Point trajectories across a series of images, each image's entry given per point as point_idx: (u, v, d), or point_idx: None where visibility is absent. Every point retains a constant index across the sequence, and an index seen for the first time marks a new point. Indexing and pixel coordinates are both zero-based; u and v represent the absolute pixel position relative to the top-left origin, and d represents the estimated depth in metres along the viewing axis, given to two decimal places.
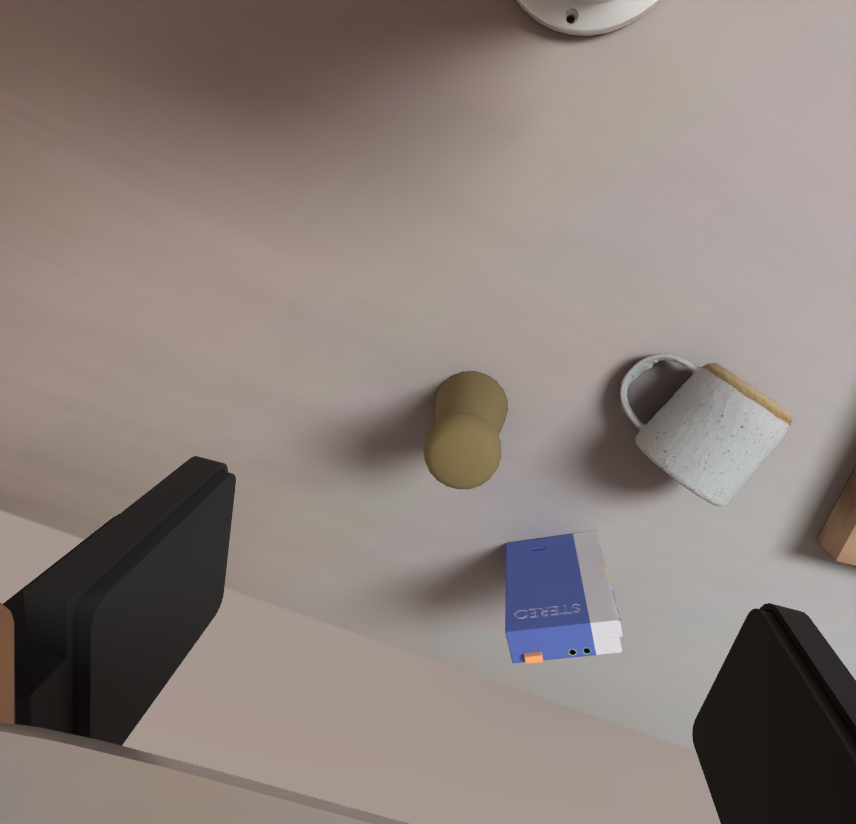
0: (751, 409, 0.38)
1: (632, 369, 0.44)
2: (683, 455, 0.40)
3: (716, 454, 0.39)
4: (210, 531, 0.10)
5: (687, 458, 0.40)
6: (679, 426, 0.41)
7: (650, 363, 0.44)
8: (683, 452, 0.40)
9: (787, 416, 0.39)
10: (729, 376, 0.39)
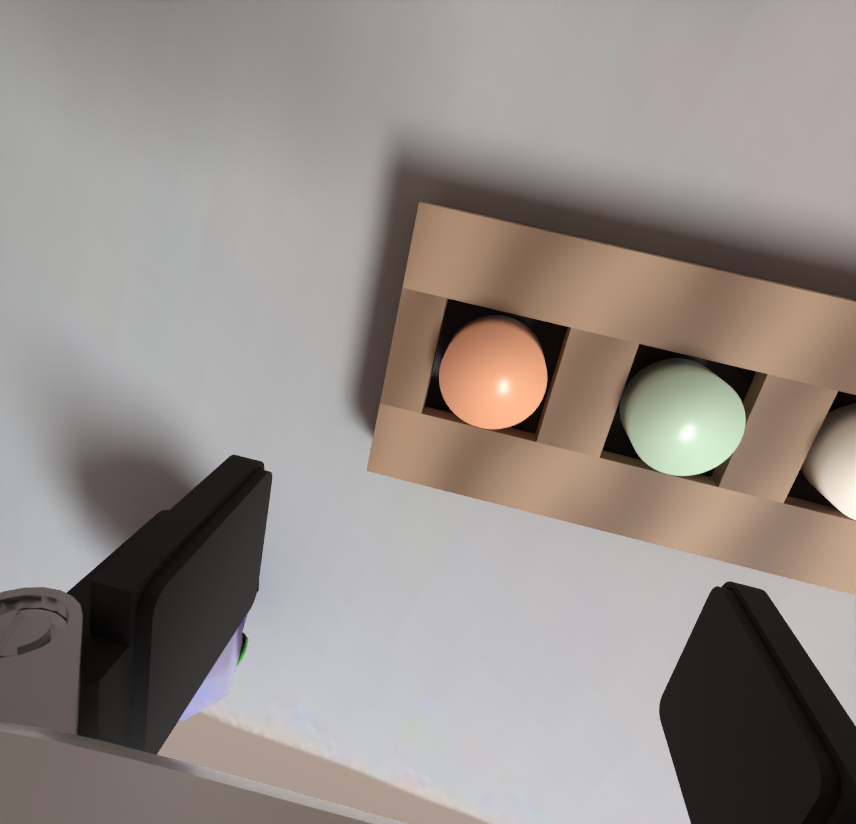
0: None
1: None
2: None
3: None
4: (250, 527, 0.10)
5: None
6: None
7: None
8: None
9: None
10: None
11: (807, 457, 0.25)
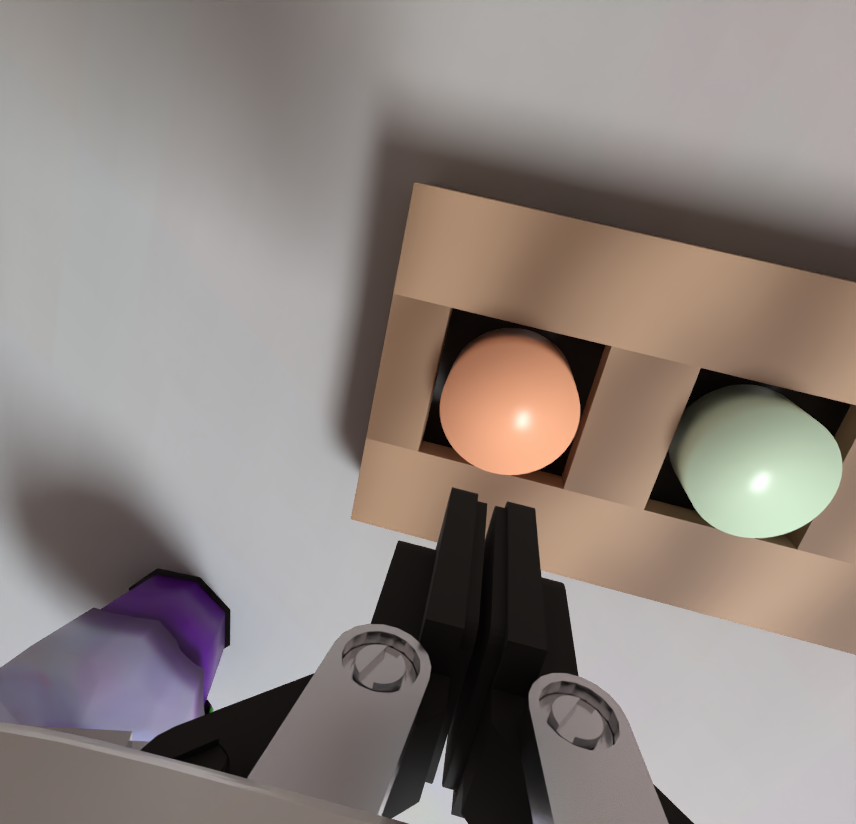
0: None
1: None
2: None
3: None
4: None
5: None
6: None
7: None
8: None
9: None
10: None
11: None
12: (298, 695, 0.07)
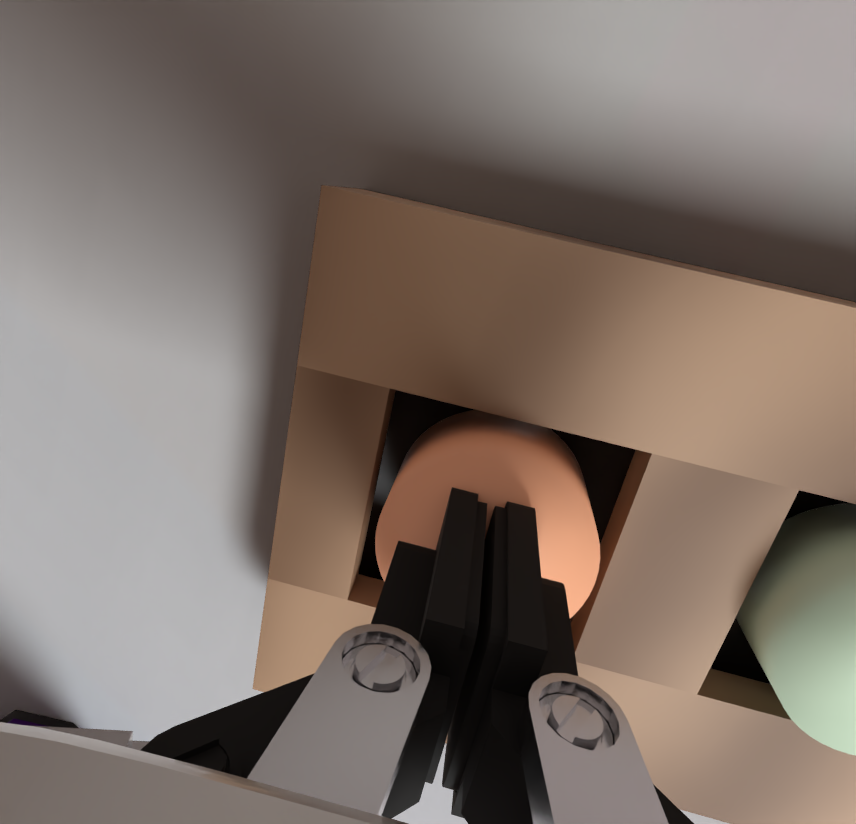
0: None
1: None
2: None
3: None
4: None
5: None
6: None
7: None
8: None
9: None
10: None
11: None
12: (298, 695, 0.07)
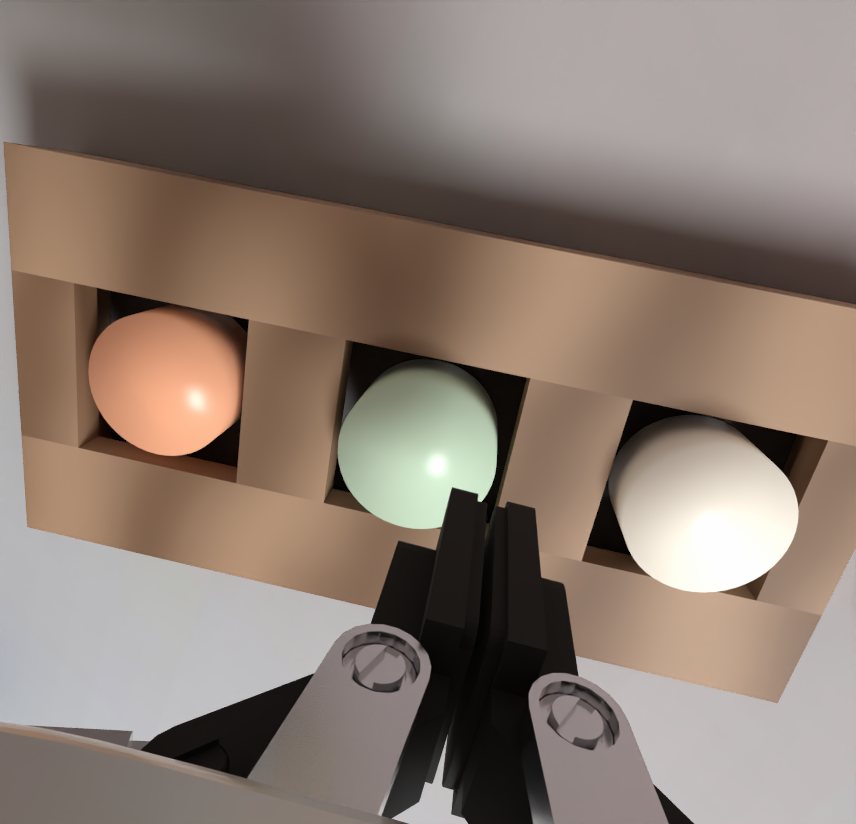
0: None
1: None
2: None
3: None
4: None
5: None
6: None
7: None
8: None
9: None
10: None
11: (612, 494, 0.18)
12: (298, 695, 0.07)
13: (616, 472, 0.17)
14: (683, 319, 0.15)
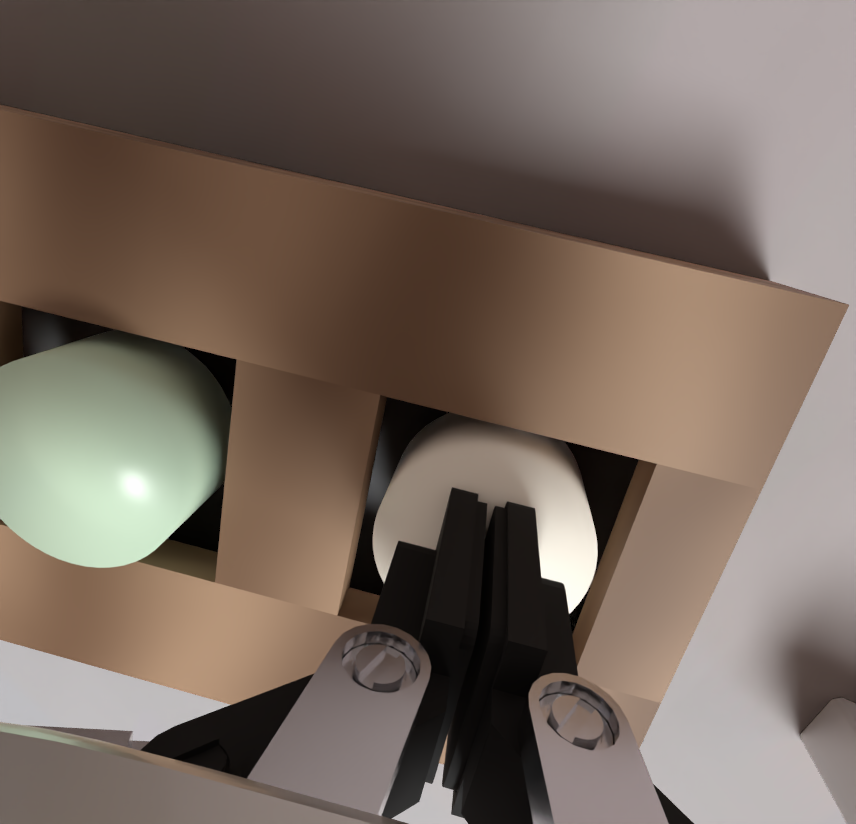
0: None
1: None
2: None
3: None
4: None
5: None
6: None
7: None
8: None
9: None
10: None
11: None
12: (298, 695, 0.07)
13: None
14: (437, 276, 0.10)
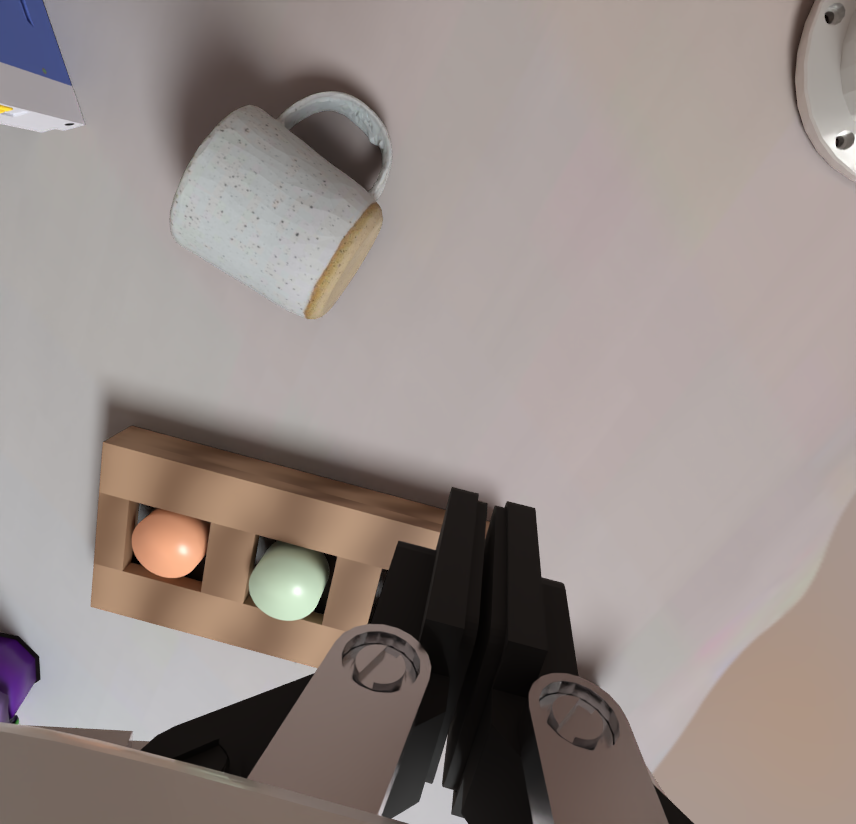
0: (323, 246, 0.26)
1: (367, 108, 0.30)
2: (243, 154, 0.26)
3: (250, 201, 0.26)
4: None
5: (239, 159, 0.25)
6: (288, 153, 0.26)
7: (377, 137, 0.30)
8: (248, 154, 0.26)
9: (316, 303, 0.28)
10: (368, 222, 0.27)
11: None
12: (298, 695, 0.07)
13: None
14: (399, 538, 0.35)
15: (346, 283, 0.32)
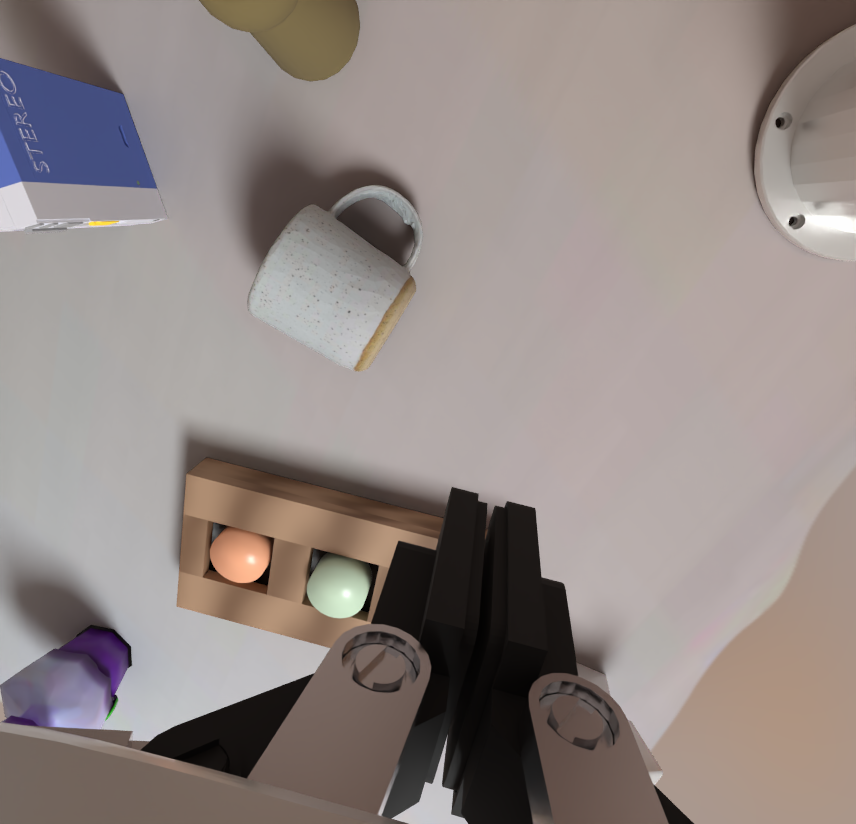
0: (370, 320, 0.33)
1: (402, 197, 0.36)
2: (305, 250, 0.32)
3: (312, 287, 0.32)
4: None
5: (302, 255, 0.32)
6: (340, 246, 0.33)
7: (410, 219, 0.36)
8: (309, 250, 0.32)
9: (364, 362, 0.35)
10: (405, 297, 0.34)
11: None
12: (298, 695, 0.07)
13: None
14: None
15: (386, 337, 0.39)
